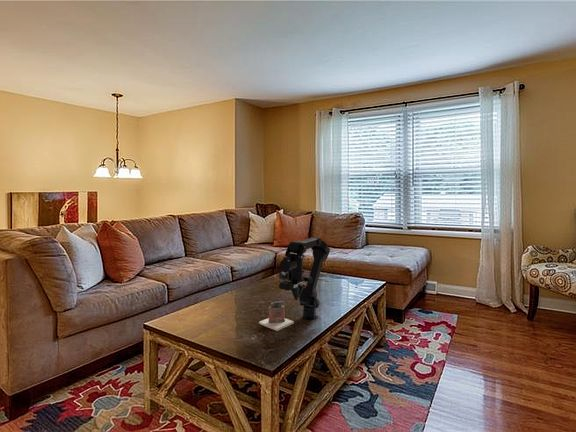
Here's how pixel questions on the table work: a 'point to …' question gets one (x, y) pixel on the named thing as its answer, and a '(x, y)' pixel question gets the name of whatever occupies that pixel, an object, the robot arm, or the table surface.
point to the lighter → (276, 312)
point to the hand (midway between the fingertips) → (296, 300)
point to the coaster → (276, 324)
